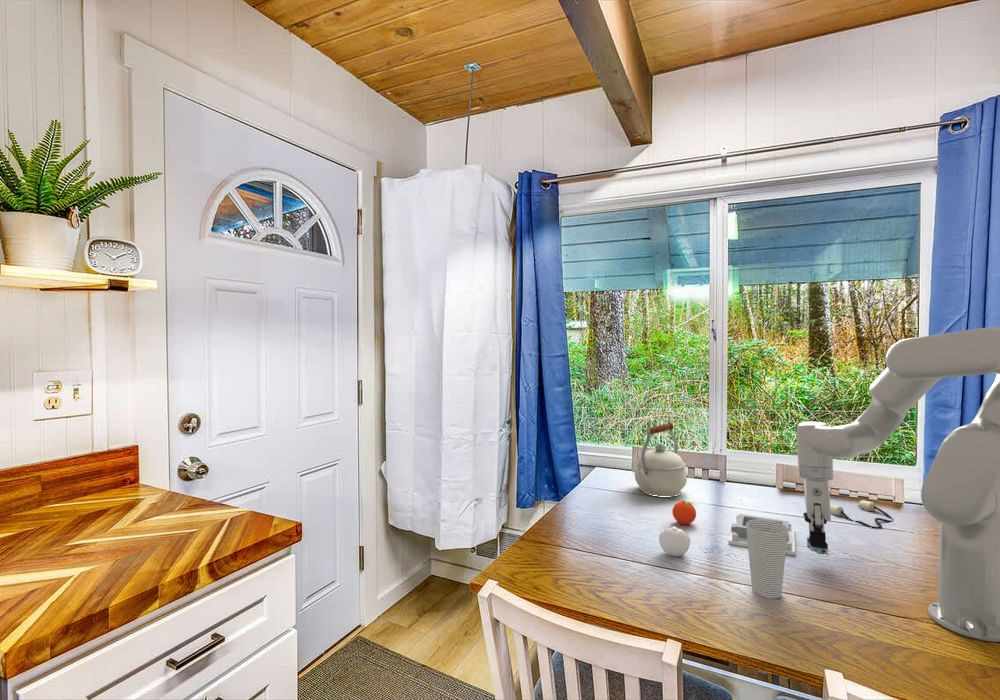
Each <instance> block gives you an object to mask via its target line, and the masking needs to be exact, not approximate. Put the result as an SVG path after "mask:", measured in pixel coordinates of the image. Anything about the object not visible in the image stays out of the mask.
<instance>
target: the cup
mask: <svg viewBox="0 0 1000 700" xmlns="http://www.w3.org/2000/svg"><path fill="white" fill-rule="evenodd" d="M746 529H747V540H748V547H747V548H748V550H747V551H748V560H749V571H750V582H751V591H753V593H754V594H755V595H756V596H759V597H762V598H763V599H769V600H776V599H779V598H781V597H782V595H783V593H782V592H783V584H784V583H783V582H784V572H785V562H786V555H787V554H786V545H787V535H788V528H787V527H786V526H785V525H784V524H781V523H779V522H776V521H772V520H767V519H751V520H749V521H747V522H746Z"/></svg>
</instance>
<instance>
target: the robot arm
mask: <svg viewBox="0 0 1000 700" xmlns="http://www.w3.org/2000/svg"><path fill="white" fill-rule="evenodd" d="M885 365H886V368H885V369H884V370H883V371H882V373H881V374H879V376H878V377H877V378H876V379H875V380H874V381H873V382H872V383H871V384H870V386H869V387H868V392H869V394H870V396H871V400H870V403H869V405H868V406H867V407H866V409H865V410H864V411H863V412H862V413H861V414H860V415H859V416H858V417H857V418H856V419H855V420H854V421H853V422H852V423H847V424H843V425H836V426H830V424H828V423H825V422H821V421H802V422H800V423H798V424H797V426H796V449H797V451H796V452H797V453H796V454H797V476H798V477H800V478H801V479H803V489H804V490H803V491H804V504H805V510H806V512H807V515H808V518H809V519H811V530H810V524H809V523H808V524H809V525H808V530H809V535H808V537H809V536H810V544H811V547H817V548H824V549H825V548H826V543H827V542H826V541H827V538H826V535H827V534H826V531H825V524H824V518H825V520H827V522H830V521H831V520H832V518H831V515H832V514H830V504H831V497H830V495H831V494H830V483H829V482H830V481H832V480H834V466H833V465H834V464H833V462H834V461H833V458H836V459H843V460H844V459H851V458H854V457H857V456H862V455H864V454H869V453H871V452H873V451H874V450H876V449H878V448H879V447H880V446H881V445H882V444H883V443H885V441H886V440H888V438H890V436H891V435H892V434H893V433H894V432H895V431H897V429H898V428H899V427H900V425H901V424H902V423H903V421H904V419H905V418H906V416H907V414H908V412H909V411H910V409H912V408H913V407H914V405H915V404H917V403H918V402H919V401H920V400H921V398H923V397H924V396H925V395H926V394H927V393H928V392H929V391H930V390H931V389H932V388H933V387H934V386H935V385H936V384H937V383H938V382H939V381H940V380H941V379H942V378H943V379H945V378H953V377H954V378H955V377H966V376H979V375H989V374H990V375H991V374H996V375H995V379H994V382H993V384H992V385H991V387H990V388H989V390H988V391H987V392H986V394H985V395H984V398H983V400H982V403H981V405H980V408H979V409H978V412H977V413H976V415H975V417H974V419H973V420H972V421H971V422H970V423H968V424H964V425H962V426H961V425H960V426H959V427H957V428H955V429H953V430H952V431H951V432H950V433H948V434H947V436H946V437H945V438H944V439H943V440H942V442H941V444H940V446H939V448H938V451H937V452H936V454H935V456H934V459H933V461H932V463H931V465H930V468H929V470H928V472H927V474H926V475H925V476H926V477H925V479H924V481H923V484H922V485H921V490H920V499H921V503H922V506H923V507H924V509H925V511H926V512H927V513H928V514H929V515H930V516H931V517H932V518H933V519H934V520H936V521H938V522H940V523H939V533H938V534H939V537H938V539H939V540H938V575H937V577H938V578H937V582H938V584H937V586H938V587H937V601H935V602H931V603H930V604H929V605H928V607H927V613H928V616H929V617H930V618H931V619H932V620H933V621H934V622H936V623H937V624H938V625H940V626H942V627H943V628H945V629H947V630H950V631H951V632H954V633H957V634H959V635H962V636H965V637H968V638H971V639H975V640H978V641H979V640H980V641H985V642H991V643H992V642H993V643H1000V326H995V327H979V328H970V329H964V330H959V331H952V332H946V333H940V334H932V335H924V336H918V337H917V336H916V337H908V338H904V339H900V340H898V341H896V342H895V343H894V344H892V345H891V346H890V347H889V348H888V350H887V353H886V355H885ZM812 513H813V514H812ZM812 515H813V516H815V518H813V516H812ZM821 517H822V519H821ZM813 521H815V523H814V522H813Z"/></svg>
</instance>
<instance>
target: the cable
mask: <svg viewBox="0 0 1000 700" xmlns="http://www.w3.org/2000/svg"><path fill="white" fill-rule="evenodd" d="M858 503H859V504H858V505H857V507H858V508H859V509H860V510H863V509H864V510H863V511H867V510H868V512H871V511H873V512H874V511H876V510H877V511H879V512H880V513H882V514H883V515H885V516H886V517H887V518H888V517H889V518H890V519H892V521H893V520H894V518H893V517H892V516H891V515H890V514H888V513H887V512H886V511H884V510H883V509H881V508H879V507H878V506H876V504H875V502H874V501H868V500H863V499H862V500H860V501H858ZM833 514H834V516H836V515H837V517H842V516H843V517H844V518H845V519H846V520H848V519H849V520H848V521H850V520H852V521H851V522H853V521H855V522H854V523H857V522H858V524H860V523H861V525H863V526H864V527H867V526H868V527H867V528H869V527H872V528H871V529H873V528H881V529H882V528H883V526H882V524H881V523H880V522H879V521H881V522H884V521H890V522H889V523H892V522H891V520H890V519H889V518H888V519H885V518H882V517H881V518H880V517H875V518H874V522H875V524H877V526H873V525H870V524H869V523H866V522H863V521H861V520H854V519H851V518H850V517H849V516H848V515H847V514H846V513H845V512H844V508H843V507H842V506H839V505H836V504H831V503H830V515H833ZM893 522H894V521H893Z"/></svg>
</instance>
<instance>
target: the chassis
mask: <svg viewBox="0 0 1000 700" xmlns="http://www.w3.org/2000/svg"><path fill="white" fill-rule="evenodd" d="M733 519H734V520H733V522H732V523H731V527H730V529H731V530H730V535H729V539H728V544H729V545H733V546H739V547H745V548H748V540H747V529H746V522H747V521H749V520H751V519H767V520H772V521H776V522H779V523H781V524H784V525H785V526H786V527H787V528H788V535H787V545H786V555H788V556H789V555H790V556H796V545H795V544H796V542H795V528H794V527H792V523H790V522H789V520H783V519H778V518H777V519H775V518H769V517H763V516H756V515H751V514H750V515H749V514H743V513H738V514H737V515H736V517H735V518H733Z"/></svg>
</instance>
